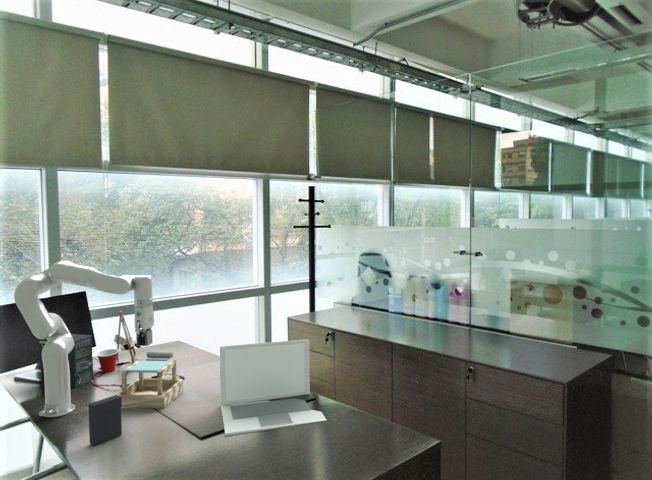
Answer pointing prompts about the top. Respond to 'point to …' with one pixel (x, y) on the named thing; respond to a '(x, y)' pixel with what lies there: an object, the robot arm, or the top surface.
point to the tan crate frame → (150, 388)
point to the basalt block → (146, 338)
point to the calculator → (105, 419)
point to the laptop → (265, 386)
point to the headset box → (76, 360)
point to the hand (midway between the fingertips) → (144, 342)
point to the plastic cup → (107, 360)
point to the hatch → (152, 362)
